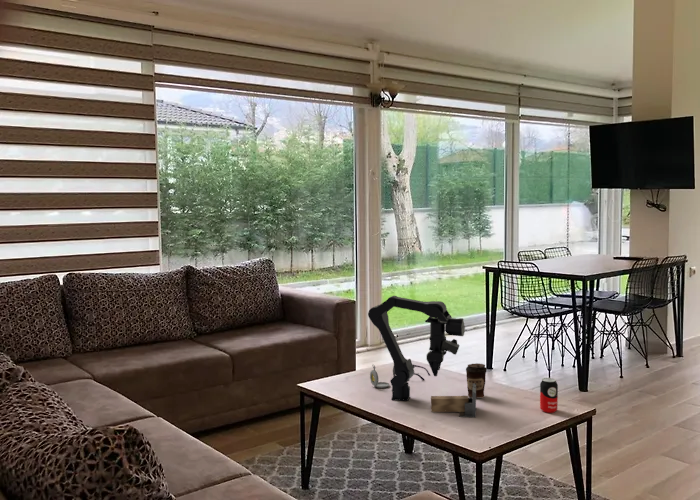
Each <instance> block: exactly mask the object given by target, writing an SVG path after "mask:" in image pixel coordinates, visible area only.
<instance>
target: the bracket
mask: <svg viewBox="0 0 700 500" xmlns="http://www.w3.org/2000/svg"><path fill="white" fill-rule="evenodd" d="M468 400H469V403H466V402H465V412H458V414H459V415H458V417H460V418H476V415H477V413H476V412H477V398H476V383H473V390H472V398H471V397H468Z"/></svg>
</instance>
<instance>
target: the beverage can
mask: <svg viewBox="0 0 700 500" xmlns="http://www.w3.org/2000/svg"><path fill="white" fill-rule="evenodd" d="M539 385H540V386H539V388H540V389H539V391H540V392H539V394H540V395H539V408H540V410H541V411H542V412H543V413H547V414H552V413H555V412H557V410H558V406H559V405H558V403H559V402H558V401H559V400H558V397H559V395H558V394H559V393H558V390H559V389H558V388H559V386H558V383H557V379H555V378H552V377H544V378H541V382H540V384H539Z"/></svg>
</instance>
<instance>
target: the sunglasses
mask: <svg viewBox="0 0 700 500" xmlns="http://www.w3.org/2000/svg"><path fill="white" fill-rule="evenodd" d="M412 365H413V366H414V367H415V368H421V369H424V371H426V373H427V375H428V376H431V374H430V372H429V371H428V368H426V367H424V366H420V365H416V364H413V363H412ZM414 375H415V376H417V377H419V378H420V380H422V381H425V378H424V377H423V376H421V375H420V374H419V373H415V372H414V374H413V376H414ZM392 376H393V377H395V376H396V374H395V371H394V365H393V366H392ZM393 377H392V378H393Z"/></svg>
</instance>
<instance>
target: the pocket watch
mask: <svg viewBox="0 0 700 500" xmlns="http://www.w3.org/2000/svg"><path fill="white" fill-rule="evenodd" d="M372 368H373V369H372V370H370V372H369V379H370V383H371V384H372V386H374V387H375V388H377V389H384V388H385V389H386V388H389V387H390V382H389V383H388V382H385V381H380V382H379V374H378V371H377V370H376V365H374V364H372Z"/></svg>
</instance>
